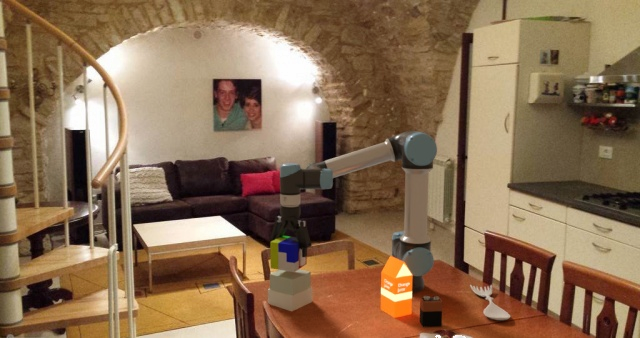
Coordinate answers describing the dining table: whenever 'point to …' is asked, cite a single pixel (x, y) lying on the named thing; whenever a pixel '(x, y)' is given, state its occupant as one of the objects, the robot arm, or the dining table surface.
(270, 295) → the tower base
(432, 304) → the battery
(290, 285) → the tower top
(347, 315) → the dining table surface
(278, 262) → the puzzle toy
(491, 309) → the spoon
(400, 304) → the orange juice
